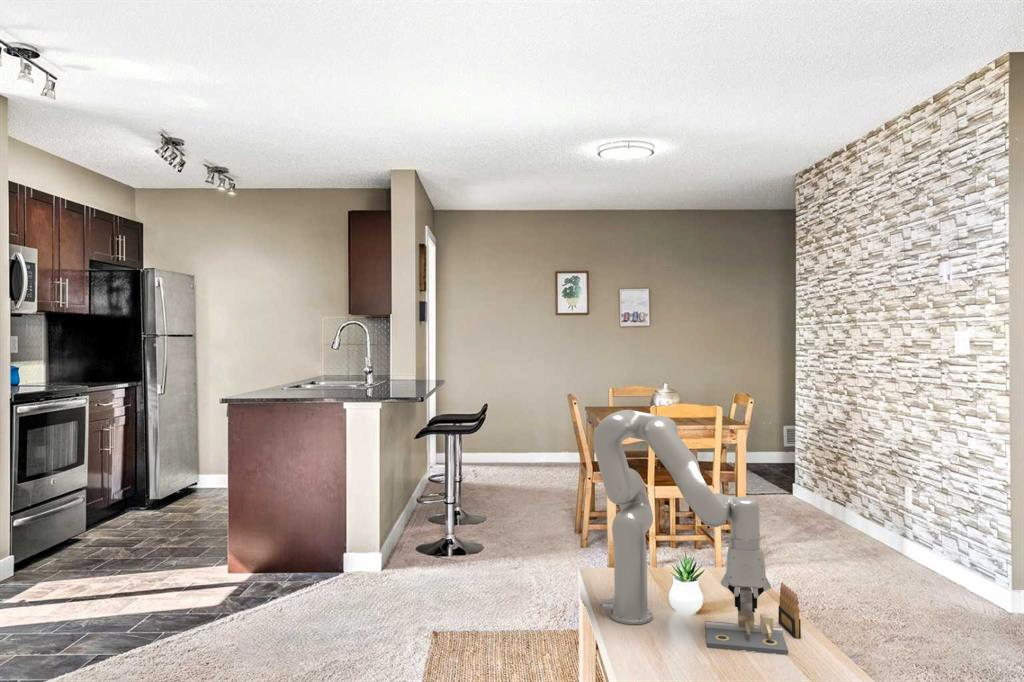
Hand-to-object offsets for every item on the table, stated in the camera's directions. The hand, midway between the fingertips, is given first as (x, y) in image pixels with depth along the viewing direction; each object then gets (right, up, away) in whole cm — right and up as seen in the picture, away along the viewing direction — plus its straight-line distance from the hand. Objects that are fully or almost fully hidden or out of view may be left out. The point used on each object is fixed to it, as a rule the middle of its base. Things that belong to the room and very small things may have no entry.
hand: (745, 609), depth 189 cm
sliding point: (-1, -5, -3) cm, 6 cm away
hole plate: (-1, -7, -3) cm, 8 cm away
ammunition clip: (+13, -7, +2) cm, 15 cm away
